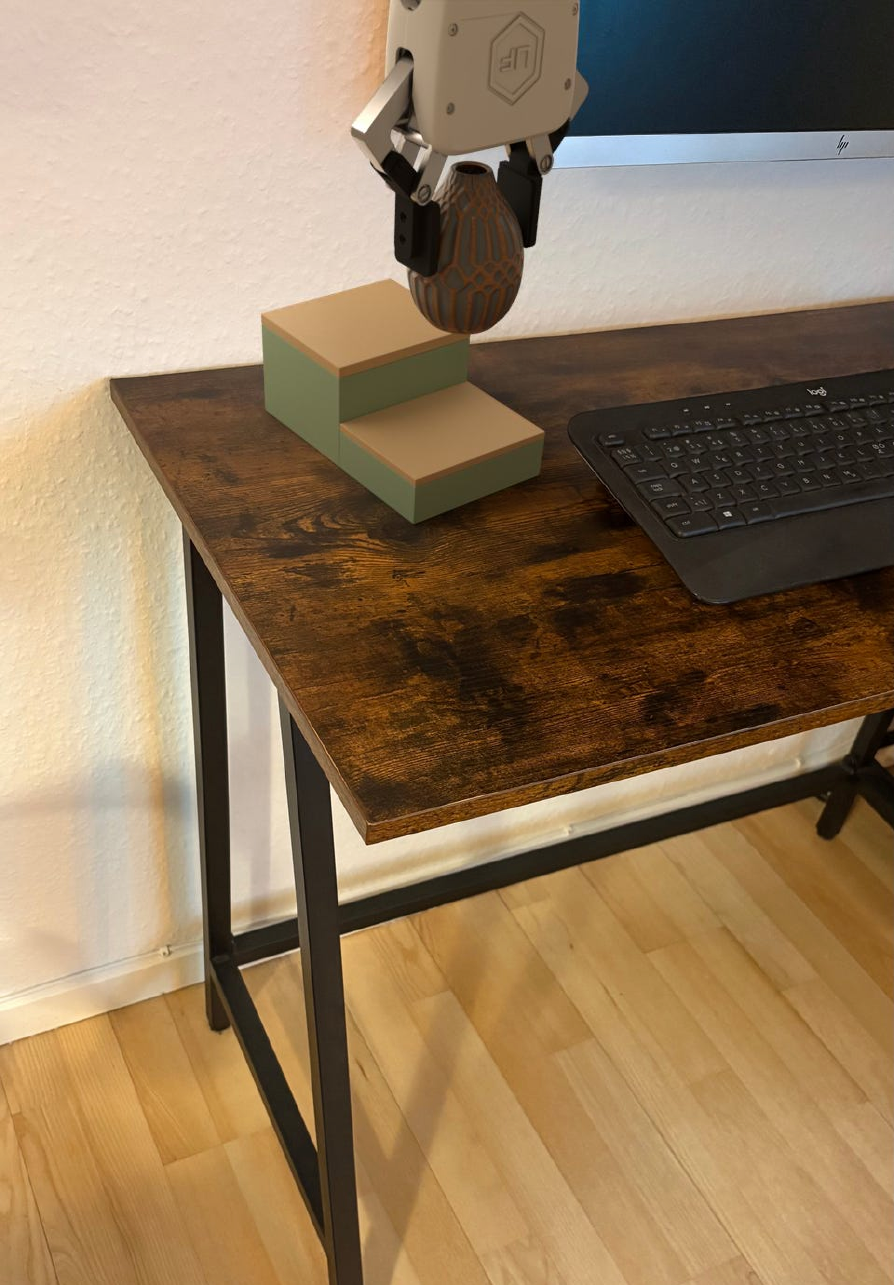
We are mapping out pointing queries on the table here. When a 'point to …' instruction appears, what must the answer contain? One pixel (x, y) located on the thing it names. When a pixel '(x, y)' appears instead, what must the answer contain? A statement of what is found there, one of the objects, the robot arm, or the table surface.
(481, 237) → the vase
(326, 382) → the two-step display riser
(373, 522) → the table surface
